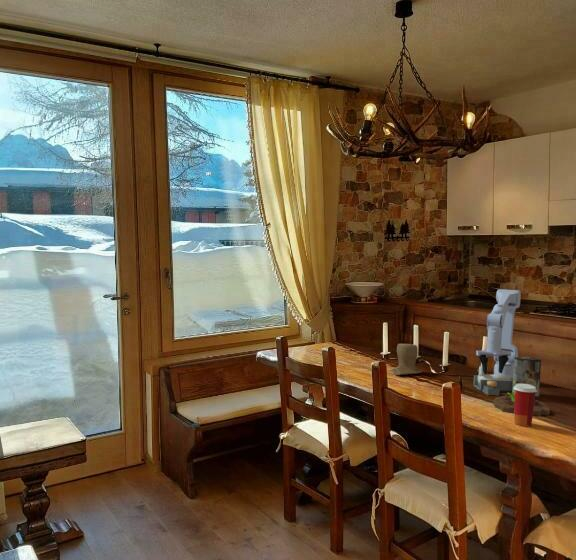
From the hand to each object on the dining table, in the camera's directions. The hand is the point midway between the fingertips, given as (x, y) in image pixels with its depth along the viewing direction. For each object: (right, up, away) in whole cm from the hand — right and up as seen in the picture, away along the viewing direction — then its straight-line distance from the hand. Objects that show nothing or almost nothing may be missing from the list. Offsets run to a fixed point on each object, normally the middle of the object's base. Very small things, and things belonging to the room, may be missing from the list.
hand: (492, 372), depth 242 cm
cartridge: (+4, -8, +9) cm, 13 cm away
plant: (+4, -12, -19) cm, 23 cm away
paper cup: (-4, -12, -40) cm, 42 cm away
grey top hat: (-31, -6, +34) cm, 46 cm away
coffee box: (+15, -10, +1) cm, 18 cm away
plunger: (0, -9, +1) cm, 9 cm away
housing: (+4, -9, +6) cm, 12 cm away
